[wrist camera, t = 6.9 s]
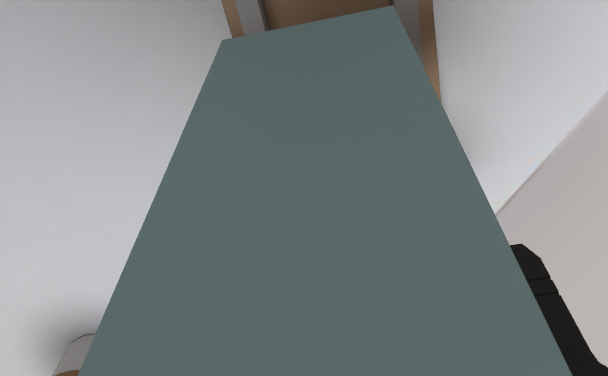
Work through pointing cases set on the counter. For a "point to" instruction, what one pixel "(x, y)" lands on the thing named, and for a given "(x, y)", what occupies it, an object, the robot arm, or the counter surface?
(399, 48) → the door panel
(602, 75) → the counter surface
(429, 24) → the wooden book rack
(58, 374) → the coffee cup
